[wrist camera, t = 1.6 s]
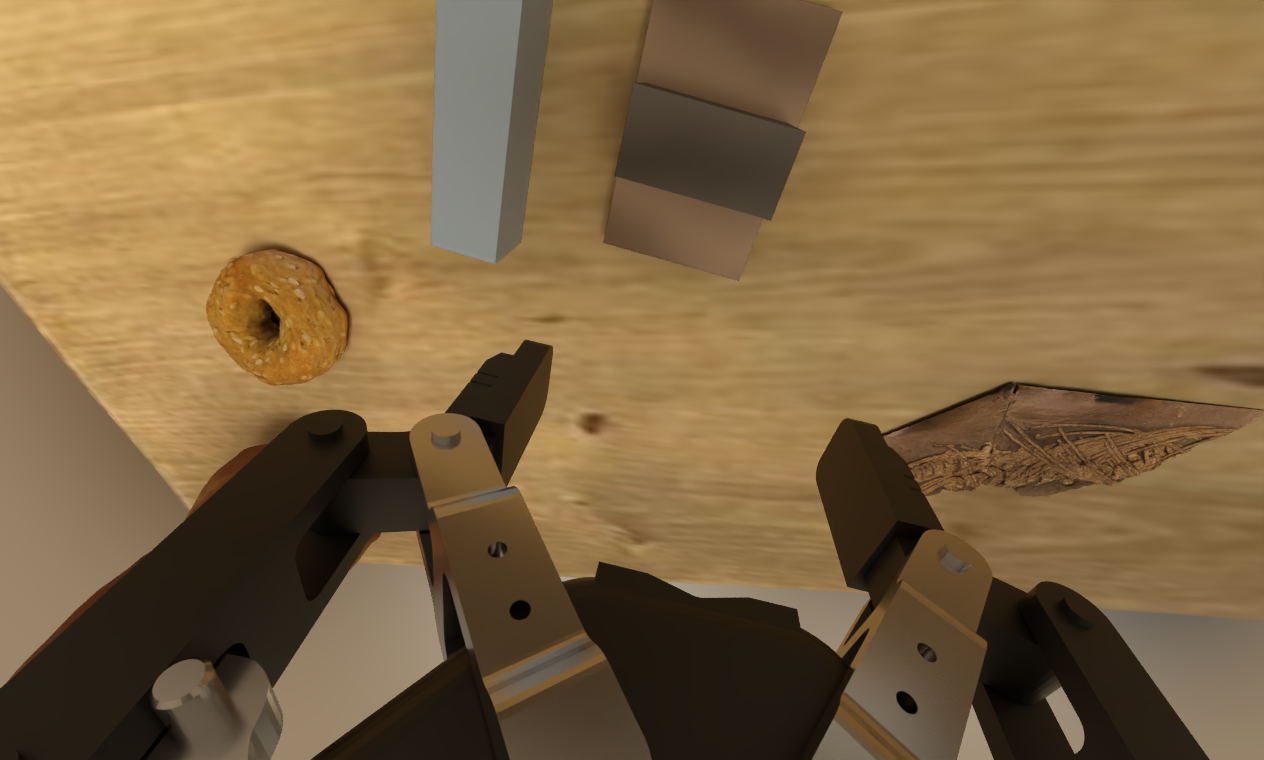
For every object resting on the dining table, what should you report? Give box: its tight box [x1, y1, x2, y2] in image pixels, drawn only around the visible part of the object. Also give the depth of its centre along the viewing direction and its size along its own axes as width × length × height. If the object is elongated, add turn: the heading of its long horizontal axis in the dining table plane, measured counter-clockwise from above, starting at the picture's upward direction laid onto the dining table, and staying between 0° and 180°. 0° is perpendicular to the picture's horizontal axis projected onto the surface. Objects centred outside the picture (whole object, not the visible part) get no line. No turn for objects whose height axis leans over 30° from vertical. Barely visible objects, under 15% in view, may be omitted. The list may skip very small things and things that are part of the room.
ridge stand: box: [603, 0, 842, 281], centre depth 25 cm, size 14×9×6 cm, turn 167°
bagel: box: [206, 249, 348, 386], centre depth 36 cm, size 10×11×5 cm
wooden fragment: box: [883, 384, 1264, 497], centre depth 35 cm, size 26×11×1 cm, turn 101°
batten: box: [431, 0, 553, 264], centre depth 25 cm, size 22×4×5 cm, turn 165°
